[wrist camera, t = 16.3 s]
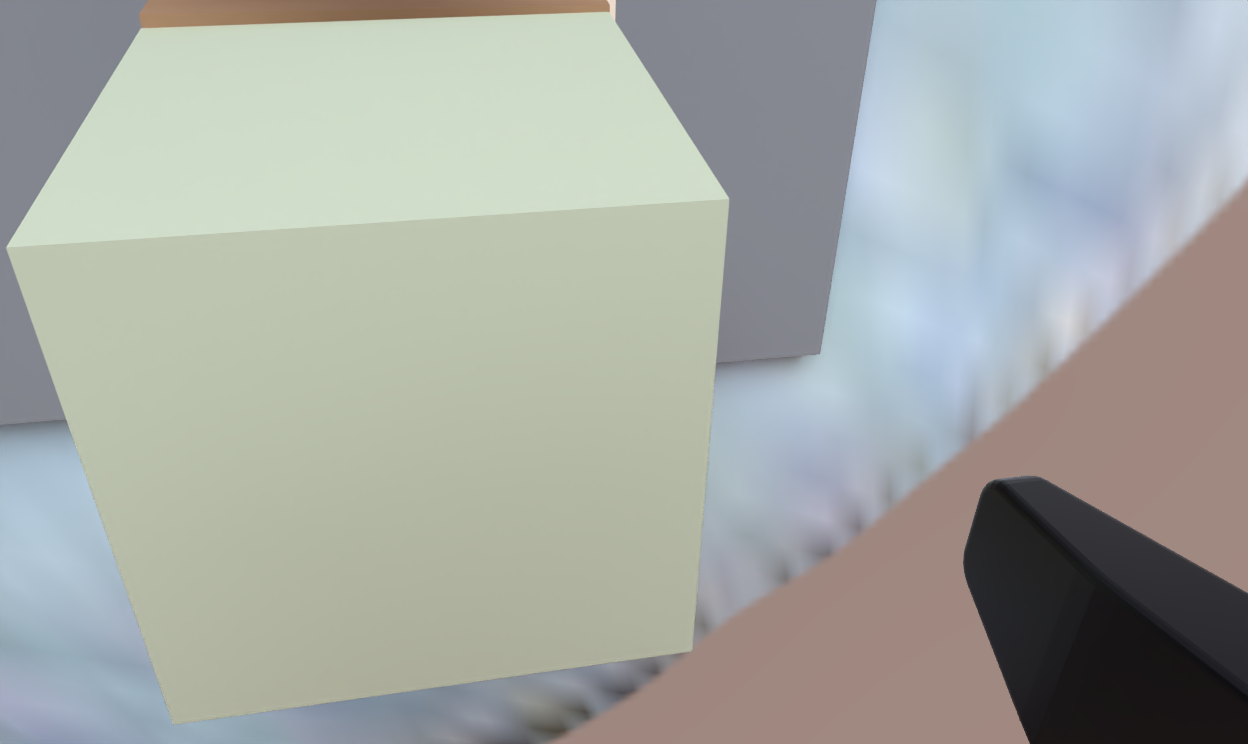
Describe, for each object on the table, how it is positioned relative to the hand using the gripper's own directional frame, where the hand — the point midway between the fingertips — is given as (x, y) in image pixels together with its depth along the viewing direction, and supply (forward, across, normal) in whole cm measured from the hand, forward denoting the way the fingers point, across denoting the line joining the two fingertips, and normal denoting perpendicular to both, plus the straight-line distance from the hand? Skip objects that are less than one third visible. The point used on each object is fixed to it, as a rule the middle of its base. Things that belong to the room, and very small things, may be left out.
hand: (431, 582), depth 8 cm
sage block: (+6, 0, 0) cm, 6 cm away
